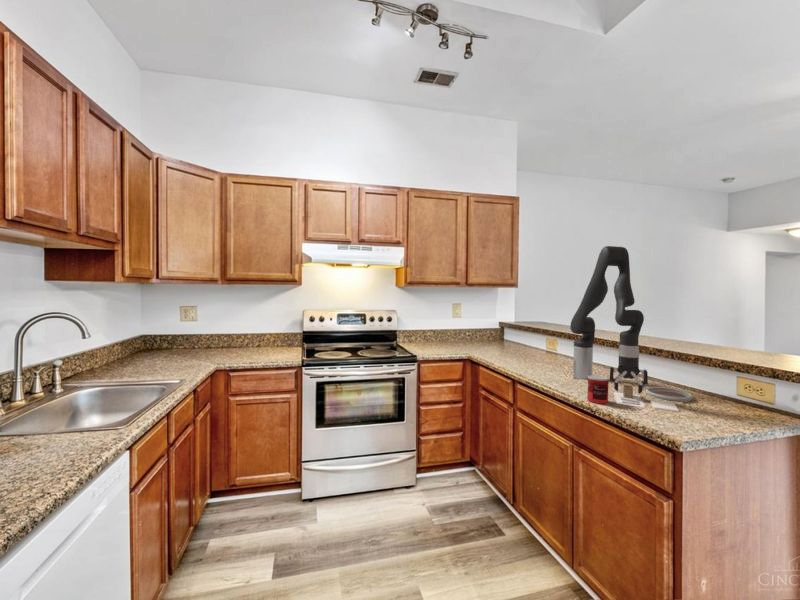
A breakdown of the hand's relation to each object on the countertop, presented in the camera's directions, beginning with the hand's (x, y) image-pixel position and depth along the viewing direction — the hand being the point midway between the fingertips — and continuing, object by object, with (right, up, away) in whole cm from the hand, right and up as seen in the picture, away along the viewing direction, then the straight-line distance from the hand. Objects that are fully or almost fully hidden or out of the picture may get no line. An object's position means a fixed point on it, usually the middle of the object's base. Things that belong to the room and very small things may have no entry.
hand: (627, 392), depth 160 cm
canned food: (-16, -3, -5) cm, 17 cm away
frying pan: (+20, -3, +9) cm, 22 cm away
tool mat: (-1, -3, -2) cm, 4 cm away
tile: (+10, -3, -7) cm, 12 cm away
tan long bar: (-1, -3, -2) cm, 3 cm away
